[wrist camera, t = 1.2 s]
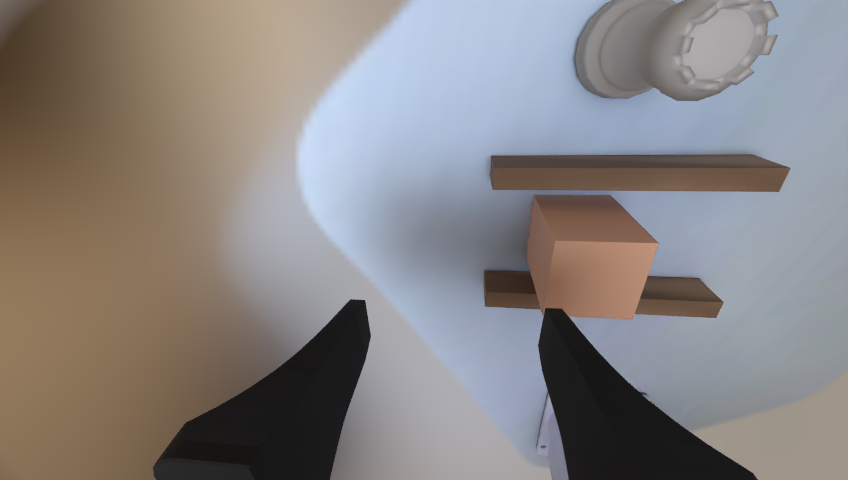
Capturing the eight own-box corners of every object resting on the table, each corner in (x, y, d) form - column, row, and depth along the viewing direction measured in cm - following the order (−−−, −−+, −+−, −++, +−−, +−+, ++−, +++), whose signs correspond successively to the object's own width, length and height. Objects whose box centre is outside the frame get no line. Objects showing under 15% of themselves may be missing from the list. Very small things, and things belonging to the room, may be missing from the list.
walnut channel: (692, 292, 23) (715, 317, 21) (483, 284, 24) (484, 306, 22) (752, 154, 18) (790, 167, 16) (491, 155, 20) (494, 168, 18)
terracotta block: (594, 258, 22) (632, 319, 17) (525, 256, 23) (542, 314, 18) (610, 195, 20) (658, 243, 15) (533, 194, 21) (555, 240, 16)
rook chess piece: (689, 5, 16) (867, -34, 9) (640, 106, 18) (750, 138, 11) (596, -16, 16) (697, -72, 9) (558, 87, 18) (615, 107, 11)
